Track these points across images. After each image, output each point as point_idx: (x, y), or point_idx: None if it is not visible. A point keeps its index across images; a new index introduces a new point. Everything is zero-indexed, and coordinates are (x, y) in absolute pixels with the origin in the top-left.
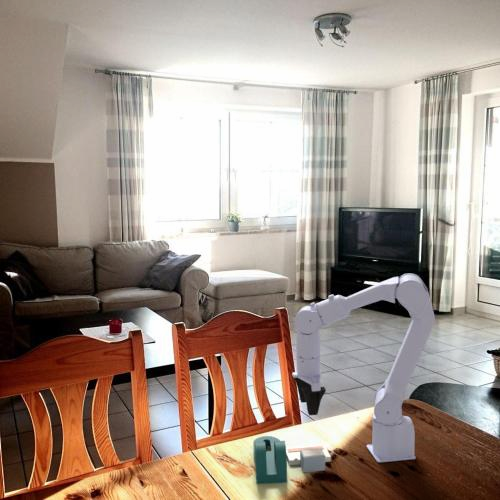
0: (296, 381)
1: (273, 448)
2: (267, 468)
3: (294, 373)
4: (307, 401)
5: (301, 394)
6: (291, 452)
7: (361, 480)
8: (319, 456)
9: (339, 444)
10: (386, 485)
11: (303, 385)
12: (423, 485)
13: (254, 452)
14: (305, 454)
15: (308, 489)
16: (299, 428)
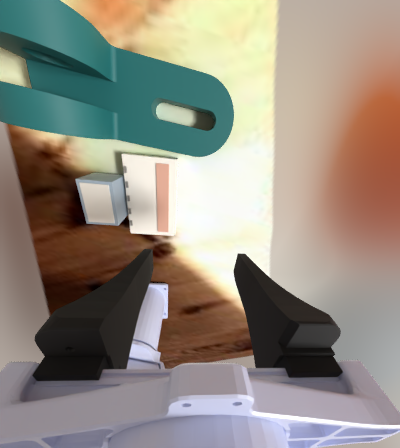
0: (275, 307)
1: (164, 127)
2: (61, 73)
3: (218, 406)
4: (107, 282)
5: (246, 273)
6: (155, 169)
7: (74, 249)
8: (84, 212)
9: (184, 256)
10: (63, 271)
11: (258, 308)
12: (68, 302)
13: (151, 58)
14: (87, 187)
15: (34, 161)
16: (260, 216)
